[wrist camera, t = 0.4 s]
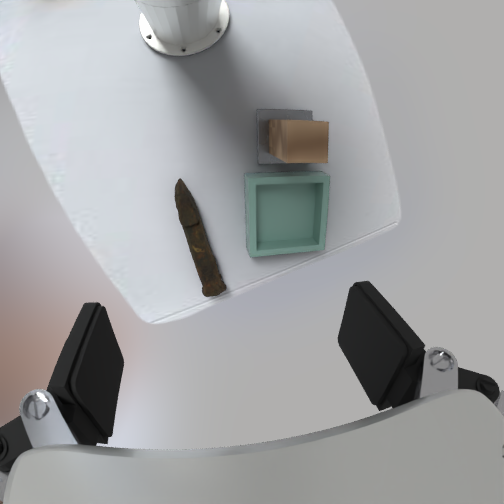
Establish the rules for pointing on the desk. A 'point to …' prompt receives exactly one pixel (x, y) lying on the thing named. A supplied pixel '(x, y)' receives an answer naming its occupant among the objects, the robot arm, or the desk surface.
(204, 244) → the hand tool
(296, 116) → the stud base
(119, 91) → the desk surface
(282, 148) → the brown wooden block
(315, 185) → the bin
